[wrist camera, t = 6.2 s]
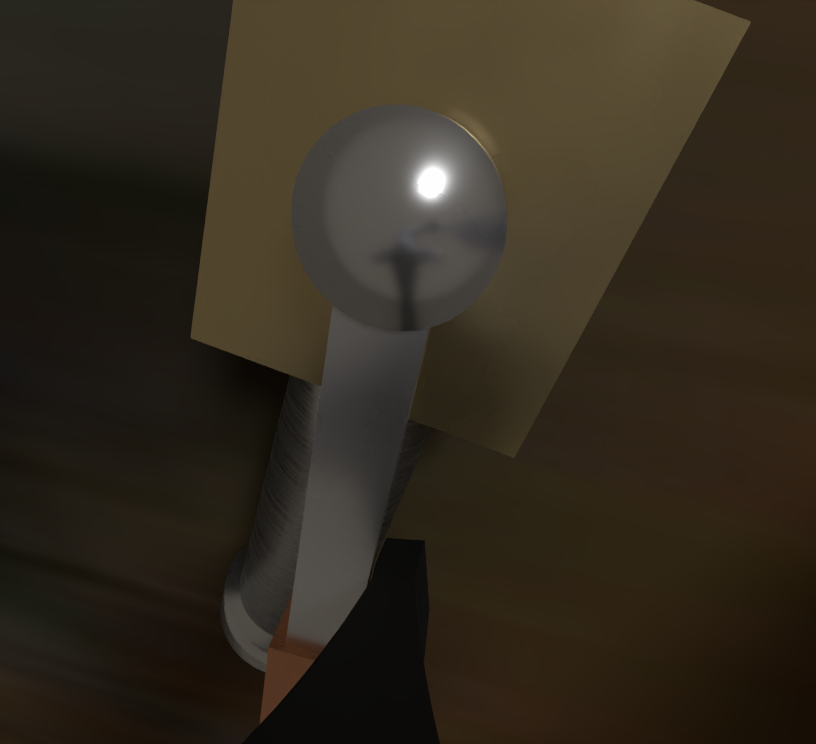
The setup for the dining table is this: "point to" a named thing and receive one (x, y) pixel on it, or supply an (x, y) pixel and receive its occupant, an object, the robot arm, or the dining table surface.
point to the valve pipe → (523, 189)
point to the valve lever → (376, 334)
